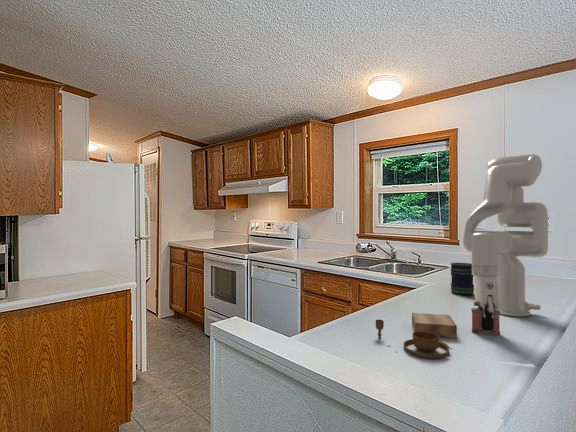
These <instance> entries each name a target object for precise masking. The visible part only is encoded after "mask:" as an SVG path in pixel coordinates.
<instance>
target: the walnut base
mask: <svg viewBox="0 0 576 432" xmlns="http://www.w3.org/2000/svg"><path fill="white" fill-rule="evenodd" d="M411 325H412V329H413V333H414V332H417V331H426V332H432V333H435V334H437V335H438V336H439V339H454V340H456V339H458V333H457V332H458V330H457V329H458V328H457V327H458V326H457V324H456V323H455V321H454V320H453V318H452V317H451V315H450V314H438V313H422V312H411Z"/></svg>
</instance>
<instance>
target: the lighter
mask: <svg viewBox="0 0 576 432" xmlns="http://www.w3.org/2000/svg"><path fill="white" fill-rule="evenodd" d="M493 305H494V304H493ZM473 306H474V307H472V308H471V309H470V311H471V327H472V328H471V333H473V334H475V335H476V334H477V335H487V336H500V335H501V331H500V315H501V314H500V311H499V310H495V308H494V306H493V308H494V313H493V331H488V330H482V317H483V312H482V308H481V306H480V305H479V303H478V302H476V301H474V302H473ZM486 307H488V306H486ZM487 311H488V310H487ZM485 312H486V310H485Z"/></svg>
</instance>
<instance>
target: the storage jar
mask: <svg viewBox="0 0 576 432" xmlns="http://www.w3.org/2000/svg"><path fill="white" fill-rule="evenodd" d="M450 275H451V282H450V291H451V294H452V295H454V294H455V296H458V295H460V296H459V297H473V296H474V287H475V284H474V277H475V276H474V275H472V263H470V262H469V263H468V262H451V263H450ZM472 295H473V296H472Z"/></svg>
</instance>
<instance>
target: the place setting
mask: <svg viewBox="0 0 576 432" xmlns="http://www.w3.org/2000/svg"><path fill="white" fill-rule="evenodd" d="M384 326H385V325H384V320H383V319H375V329H376V330H377V331H378V332H377V336H378V337H377V339H382V330H384ZM411 345H413V346H414V348H416V349H417V350H418V351H416V350H412V349H410V348H409V346H411ZM386 347H387V348H391V345H386ZM403 348H404V351H406V352H407V353H408V354H410V355H412V356H414V357H417V358H421V359H427V360H440V359H443V358H445V357H447V356H449V353H450V349H451V350H452V351H453V350H454V349H453V348H452V347H450V346H449V345H448V344H447V343H446V342H443V341H440V337H439V336H438V335H437V334H435V333H432V332H426V331H417V332H414V331H413V333H412V339H407V340H405V341H404V342H403ZM439 348H440V349H442V350H443V351H444V352H443V353H434V351H436V350H438V349H439ZM419 351H420V352H419ZM395 353H398V351H395Z"/></svg>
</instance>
